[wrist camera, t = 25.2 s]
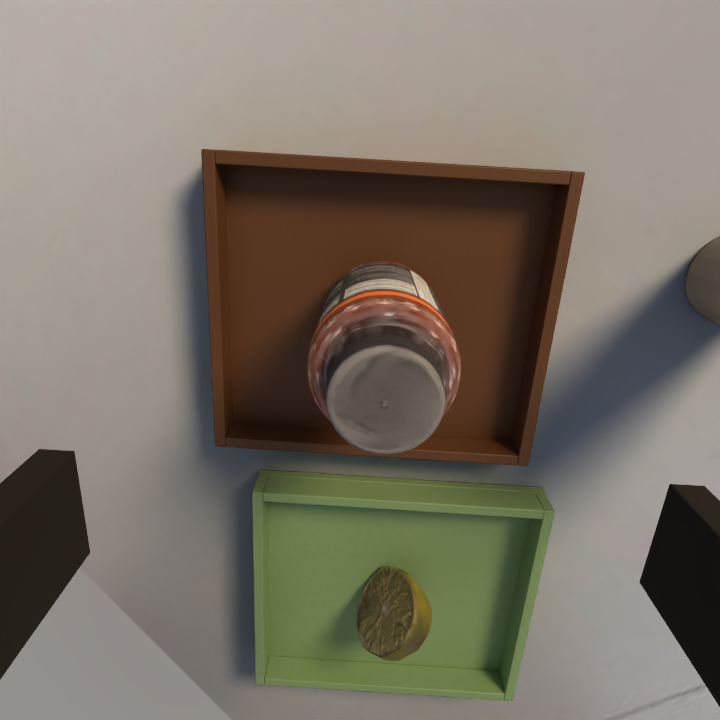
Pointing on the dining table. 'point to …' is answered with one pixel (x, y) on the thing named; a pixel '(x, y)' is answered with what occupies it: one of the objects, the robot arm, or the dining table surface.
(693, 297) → the cup
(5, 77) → the dining table surface
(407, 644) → the lime
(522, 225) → the walnut tray
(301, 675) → the green tray
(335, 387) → the supplement bottle
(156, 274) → the dining table surface
